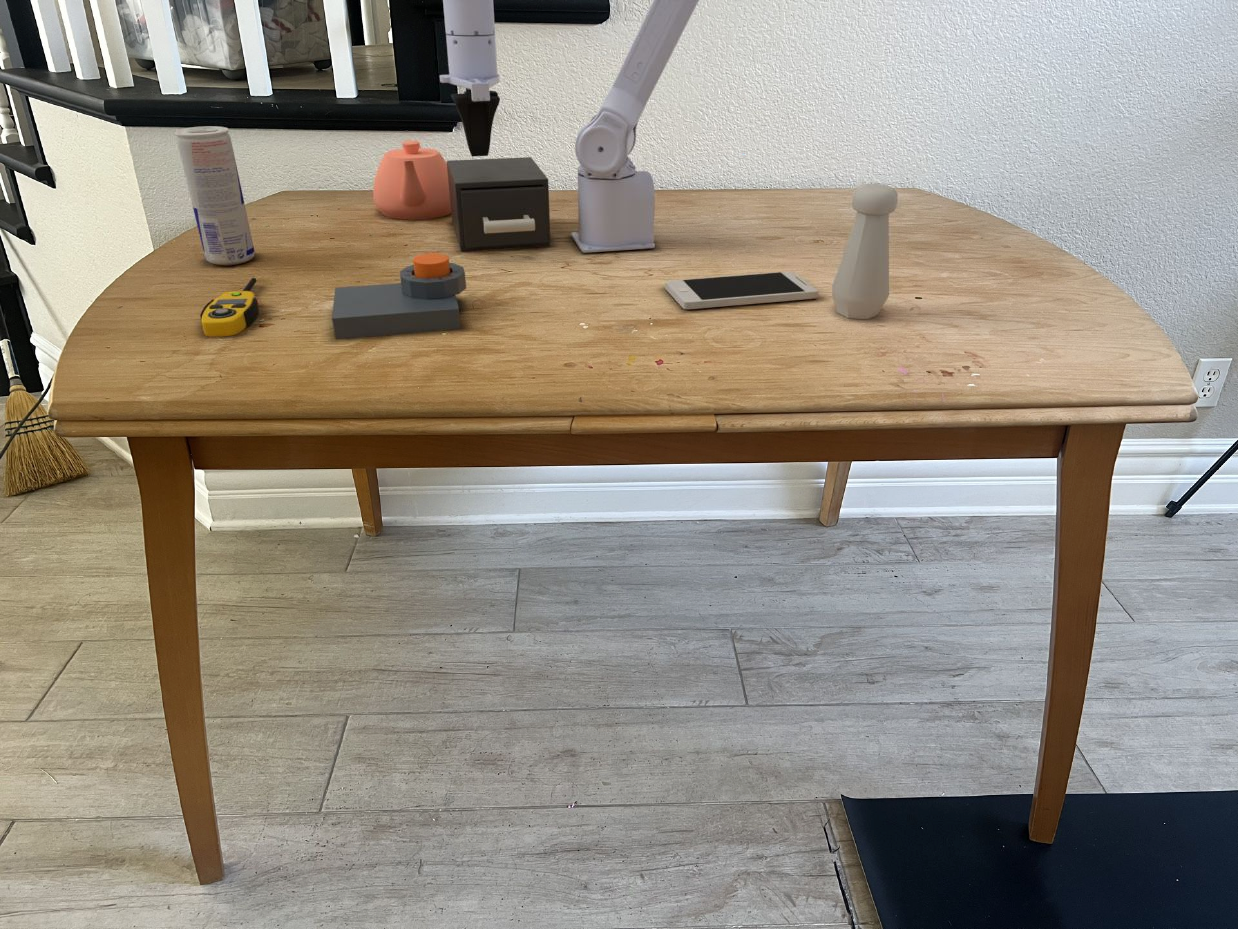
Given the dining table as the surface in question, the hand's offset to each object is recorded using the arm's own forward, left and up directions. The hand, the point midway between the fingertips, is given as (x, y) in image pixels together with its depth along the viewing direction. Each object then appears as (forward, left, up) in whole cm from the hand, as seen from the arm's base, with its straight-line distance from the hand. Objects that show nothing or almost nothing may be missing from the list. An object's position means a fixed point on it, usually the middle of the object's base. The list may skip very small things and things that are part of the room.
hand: (479, 155), depth 107 cm
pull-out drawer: (-2, +3, -10) cm, 10 cm away
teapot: (+8, -15, -11) cm, 20 cm away
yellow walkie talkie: (+28, +21, -11) cm, 37 cm away
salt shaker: (-35, +36, -11) cm, 51 cm away
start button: (+8, +25, -7) cm, 27 cm away
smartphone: (-25, +28, -10) cm, 39 cm away
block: (+12, +27, -10) cm, 31 cm away
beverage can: (+31, +3, -11) cm, 33 cm away
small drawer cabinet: (-2, -1, -10) cm, 11 cm away
